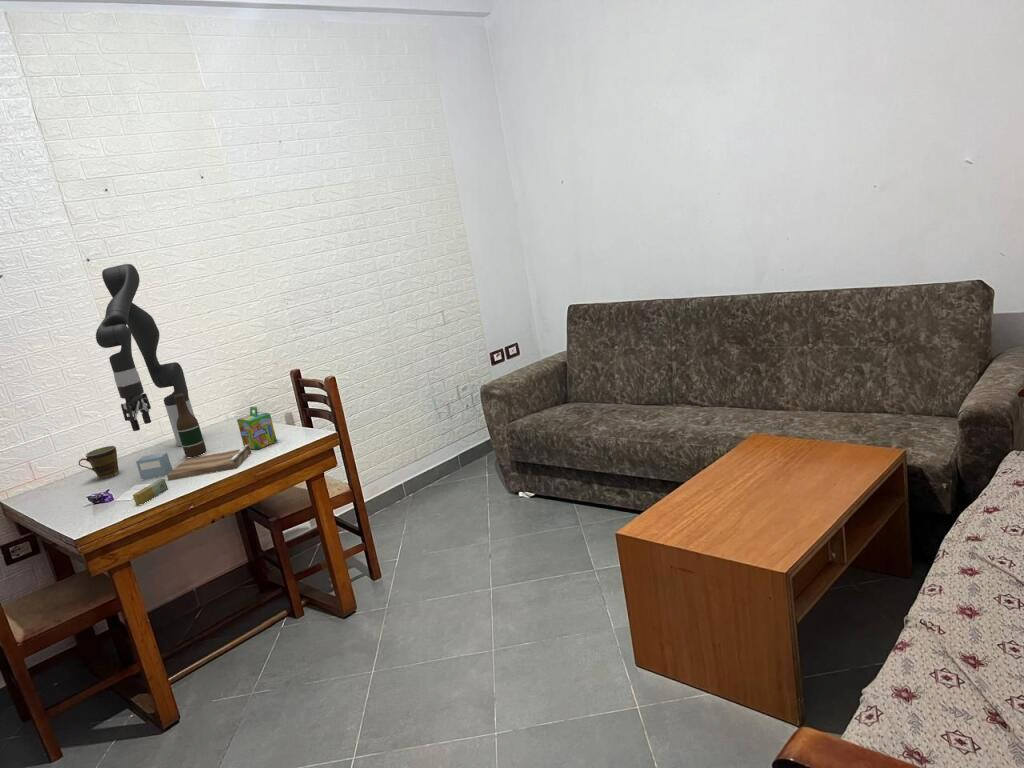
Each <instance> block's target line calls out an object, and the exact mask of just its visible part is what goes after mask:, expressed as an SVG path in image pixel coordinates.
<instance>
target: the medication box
mask: <svg viewBox="0 0 1024 768" xmlns="http://www.w3.org/2000/svg"><path fill="white" fill-rule="evenodd" d="M166 490H167V491H168V490H169V487H168V484H167V482H166V479H165V478H160V479H157V480H156V481H154V482H152V483H150V484H148V485H147V486H145V487H144V488H142V489H140V490H138V491H137V492H135V493H133V494H132V498H133V499H134V503H135V506H140V505H139V504H143V505H145V504H146V503H148V502H150V501H151V500H153V499H155V498H156V496H157V497H158V496H160V495H162V494H163V493H165V492H166ZM161 493H162V494H161ZM159 494H160V495H159ZM154 497H155V498H154ZM152 498H153V499H152ZM149 500H150V501H149ZM147 501H148V502H147ZM145 502H146V503H145ZM144 503H145V504H144Z"/></svg>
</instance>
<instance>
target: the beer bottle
mask: <svg viewBox="0 0 1024 768" xmlns="http://www.w3.org/2000/svg"><path fill="white" fill-rule="evenodd" d="M174 399H175V401H176V406H177V410H178V416H179V417H178V420H177V430H178V433H179V437H180V440H181V443H182V446H181V447H182V449H183V453H184V456H185V457H186V458H187V457H194V456H198V455H201V454H203V453H205V452H206V453H207V448H206V444H205V440H204V437H203V434H202V431H201V427H200V424H199V420H198V419H197V418H196V416H195V414H194V415H192V414H191V413H190V411H189V409H188V407H187V404H186V401H185V399H184V394H183V393H180V394H176V395H174ZM206 453H205V454H206ZM203 455H204V454H203ZM201 456H202V455H201ZM198 457H199V456H198ZM194 458H195V457H194Z"/></svg>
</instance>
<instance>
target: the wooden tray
mask: <svg viewBox="0 0 1024 768" xmlns="http://www.w3.org/2000/svg"><path fill="white" fill-rule="evenodd" d="M251 452H252V449H250V448H249V445H245V446H244V445H243V447H241V448H240V449H235V450H229V451H224V452H217V453H212V454H208V455H201V456H198V457H194V458H185V459H184V460H183V461H182V462H180V463H179V464H178V465H177V466H176V467H174V468H172V471H171V472H170V473H169V474H167V476H166V477H167V481H173V480H179V479H184V478H189V476H191V477H195V475H196V476H200V474H202V475H205V474H204V473H207V474H211V473H210V472H213V473H217V472H216V471H219V472H222V471H221V470H224V471H228V470H227V469H230V470H233V469H234V468H235V469H237V468H238V467H239V466H240V465H241V464H242V463H243V462H244V461H246V459H248V457H249V456H250V455H251V454H252V453H251ZM250 453H251V454H250ZM249 454H250V455H249ZM248 455H249V456H248ZM235 469H234V470H235Z"/></svg>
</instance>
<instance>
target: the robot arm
mask: <svg viewBox="0 0 1024 768" xmlns="http://www.w3.org/2000/svg"><path fill="white" fill-rule="evenodd" d="M101 277H102V281H103V283H104V285H105V287H106V289H107V291H108V292H109V294H110V296H111V297H112V298H111V300H110V301H109V303H108V304H107V306H106V308H105V309H106V310H105V314H104V315H105V316H104V318H103V319H102V321H101V322H100V324H99V326H98V327H97V329H96V332H95V339H96V340H95V341H96V344H97V345H98V346H99V347H101V348H103V349H109V348H115V347H120V351H118V352H116V353H114V354H112V355H110V356H109V359H108V361H109V364H110V366H111V370H112V372H113V377H114V382H115V385H116V388H117V390H118V394H119V397H120V399H124V400H125V402H124V403H121V404H120V407H121V411H122V413H123V418H124V420H125V421H126V422H127V421H128V422H130V425H131V430H132V431H133V432H136V431H137V432H139V431H140V430H141V428H140V425H139V421H138V414H139V413H140V414H141V416H142V417H141V418H142V420H143V424H150V423H152V419H151V416H150V414H149V413H150V410H151V404H150V400H149V398H148V396H147V393H145V391H144V387H143V384H142V381H141V377H140V375H139V372H138V370H137V368H136V364H135V361H134V357H133V352H132V338H133V340H134V341H135V343H136V346H137V347H138V350H139V352H140V354H141V356H142V358H143V360H144V363H145V365H146V368H147V371H148V373H149V374H148V375H150V379H151V380H152V382H153V385H154V386H156V387H157V388H159V389H165V388H170V387H173V392H172V393H170V394H169V395H167V396H165V397H164V398H163V403H164V406H165V410H166V412H167V417H168V420H169V423H170V425H171V426H170V427H171V429H172V432H173V436H174V439H175V442H176V445H177V447H183V446H182V443H181V440H180V437H179V433H178V430H177V420H178V417H179V416H178V410H177V406H176V401H175V399H174V395H176V394H180V393H183V394H184V399H185V401H186V404H187V407H188V409H189V411H190V413H191V414H192V415H194V416H195V413H194V410H193V407H192V403H191V400H190V397H189V390H188V386H187V382H186V376H185V373H184V370H183V368H182V367H183V366H181V364H180V363H179V362H169V363H163V364H162V363H160V362H159V359H158V356H157V350H158V345H159V342H160V330H159V328H158V326H157V324H156V321H155V320H154V317H153V316H152V315H151V314H149V312H147V311H146V310H144V309H143V308H141V307H140V306H139V305H137V304H136V303H134V302H133V300H134V298H135V297H136V293H137V291H138V289H139V286H140V281H141V280H140V273H139V272H138V269H137V268H136V267H135V266H134V265H133V264H131V263H125V264H119V265H115V266H111V267H106V268H104V269H103V270H102V272H101Z"/></svg>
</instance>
